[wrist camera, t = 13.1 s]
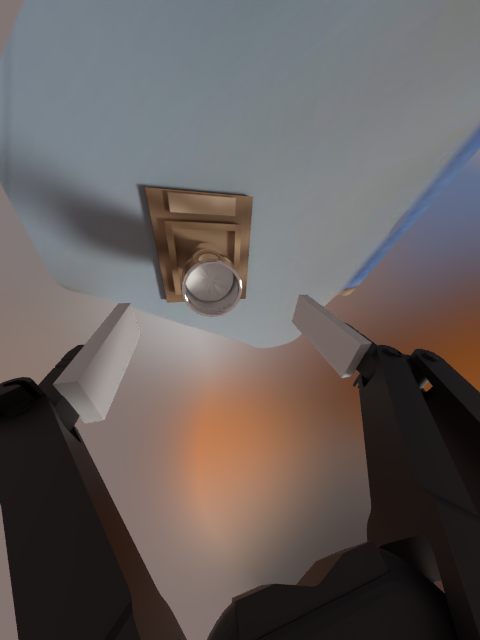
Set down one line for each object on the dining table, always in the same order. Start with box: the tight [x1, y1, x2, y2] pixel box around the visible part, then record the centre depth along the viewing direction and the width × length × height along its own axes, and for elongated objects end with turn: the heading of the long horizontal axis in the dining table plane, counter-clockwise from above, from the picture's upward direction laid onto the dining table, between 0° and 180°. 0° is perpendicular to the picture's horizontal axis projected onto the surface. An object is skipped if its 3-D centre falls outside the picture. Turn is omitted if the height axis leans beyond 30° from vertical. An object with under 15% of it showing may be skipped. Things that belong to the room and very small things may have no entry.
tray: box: [145, 187, 253, 302], centre depth 30 cm, size 18×16×2 cm
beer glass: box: [182, 242, 242, 317], centre depth 25 cm, size 7×7×15 cm
